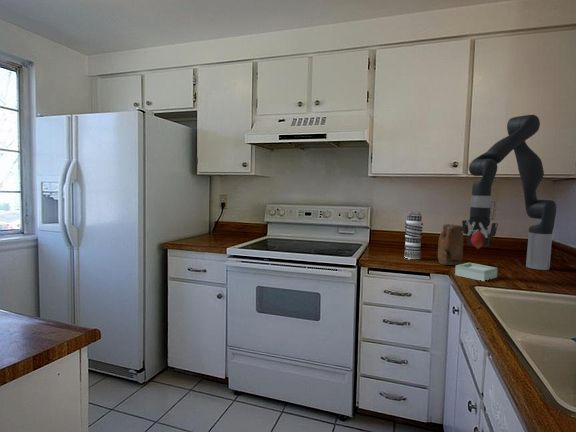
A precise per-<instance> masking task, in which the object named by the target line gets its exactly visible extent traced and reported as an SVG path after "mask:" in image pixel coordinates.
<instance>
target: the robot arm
mask: <svg viewBox="0 0 576 432" xmlns="http://www.w3.org/2000/svg"><path fill="white" fill-rule="evenodd" d="M540 126H541V121H540V119H539V117H538V116H537V115H535V114H525V115H519V116H513V117H512V118H509V119H508V121H507V125H506V130H507V134H508V135H507V136H505V137H503V138H502V139H500V140H498V141H496V142H495V143H494V144H493V145H492V146H491V147H490V148H489V149H488V150H486V152H484V153H482V154H481V155H478V156H477V157H475V158H474V159H473V160H472V161H471V162H470V164H469V166H468V171H469V174H471V175H472V176H475V177H481V179H480V180H478V181H475V182H474V183H472V187H471V198H470V203H469V204H470V205H469V206H470V208H469V220H467V219H464V220H461V223H462V225H461V226H462V227H463V235H466V236H467V241H466V242H467V243H468V245H473V244H472V243H471V237H472V235H473V234H474V233H475V232H476V230H477V231H478V230H480V231H481V233H482V234H484V236H485V238H484V245H483V247H488V246H490V241H491V240H490V239H491V238H493V237H495V236H496V233H497V230H498V226H499V225H498V222H492V221H491V219H490V217H491V206H492V200H491V199H492V198H491V196H492V195H491V194H492V185H493V183H494V180H495V178H496V175H497V171H498V164H500V163H501V162H503V160H504V159H505V158H506V157H507V156H508V155H509V154H510V153H511V152H512V151H514V155H515V159H516V163H517V170H518V174H519V177H520V181H521V185H522V190H523V197H524V206H525V211H526V215H527V216H528V217H529V218H531V219H536V220H537V219H538V220H541V221H540V223H538V224H534V225H530V226H529V227H528V235H527V236H528V237H527V240H528V241H527V251H526V261H525V262H526V264H525V267H526V268H528V269H533V270H537V271H539V270H541V271H549V270H550V268H551V267H550V266H551V255H552V243H553V242H552V241H553V233H554V232H553V231H554V227H555V222H556V221H555V220H556V215H557V204H556V202H555V201H554V200H551V199H538V196H537V189H538V187H539V185H540V183H541V182H542V180H543V178H544V175H545V172H544V167H543V166H544V165H543V162H542V159H541V158H540V157H539V155H537V153H536V152H535V151H533V149H531V148H530V147H529V146H528V144H527V142H526V141H527V140H529V138H531V137H533V136H534V135H536V133H537V132H538V131H539V129H540ZM469 225H470V227H469ZM489 227H490V230H489Z"/></svg>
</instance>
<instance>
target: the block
mask: <svg viewBox="0 0 576 432" xmlns="http://www.w3.org/2000/svg"><path fill="white" fill-rule="evenodd" d="M437 243H438V244H437V260H438V262H439V264H440V265H443V266H444V265H445V266H448V265H449V266H456V265H460V264H462V261H463V255H464V254H463V252H464V248H463V247H464V233H463V226H462V225H459V224H458V225H457V224H450V223H448V224H447V223H445V224H443V225H442V231H441V232H440V235H439V238H438V242H437Z"/></svg>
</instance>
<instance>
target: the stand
mask: <svg viewBox="0 0 576 432" xmlns="http://www.w3.org/2000/svg"><path fill="white" fill-rule="evenodd" d="M498 270H499V269H498V267H496V266H495V267H494V266H489V265H487V264H486V265H484V264H479V263H474V262H465V263H461V264H459V265H455V268H454V271H455V272H454V276H456V277H457V276H458V277H463V278H467V279H472V280H476V281H480V280H481V282H486V281H485V280H487V281H488V280H489V279H490V280H492V279H496V278H498Z"/></svg>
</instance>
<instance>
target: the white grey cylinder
mask: <svg viewBox="0 0 576 432" xmlns="http://www.w3.org/2000/svg"><path fill="white" fill-rule="evenodd" d="M422 217H423V215H422V214H421V212H419V211H409V212H408V213H407V214H406V219H405V220H406V222H404V228H405V229H404V237H405V242H404V243H405V245H404V251H403V252H404V254H403V257H405V258H408V259H407V260H410V259H420V260H421V256H422V255H421V254H422V252H421V251H422V245H421V238H422V236H423V233H422V232H423V225H424V223H423V222H422V221H423V220H422V219H423V218H422ZM405 258H404V259H405Z"/></svg>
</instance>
